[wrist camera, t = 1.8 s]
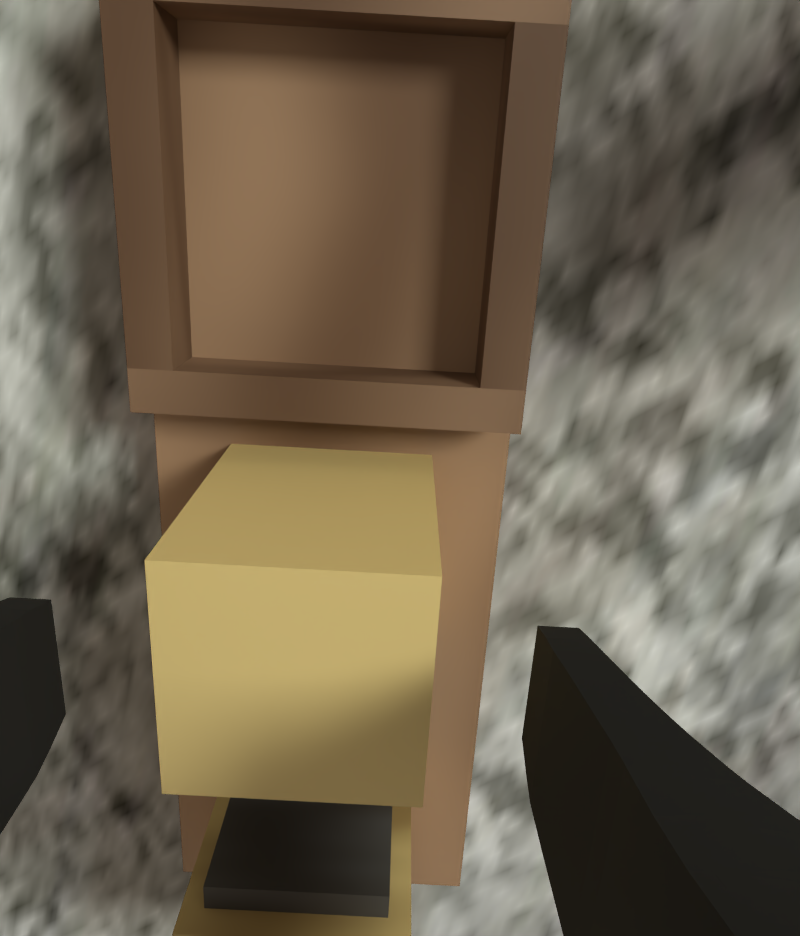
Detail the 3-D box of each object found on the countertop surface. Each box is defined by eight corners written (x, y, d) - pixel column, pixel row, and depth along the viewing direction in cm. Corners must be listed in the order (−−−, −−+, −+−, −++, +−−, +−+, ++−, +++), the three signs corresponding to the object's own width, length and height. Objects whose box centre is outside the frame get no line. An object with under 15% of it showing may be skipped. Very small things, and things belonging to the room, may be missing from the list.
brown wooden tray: (550, -23, 13) (668, -213, 7) (456, 846, 20) (476, 1120, 14) (147, -48, 13) (-77, -261, 7) (196, 832, 20) (105, 1100, 14)
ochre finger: (432, 455, 14) (442, 576, 10) (417, 647, 16) (420, 832, 11) (230, 443, 14) (144, 559, 10) (236, 637, 16) (163, 819, 11)
